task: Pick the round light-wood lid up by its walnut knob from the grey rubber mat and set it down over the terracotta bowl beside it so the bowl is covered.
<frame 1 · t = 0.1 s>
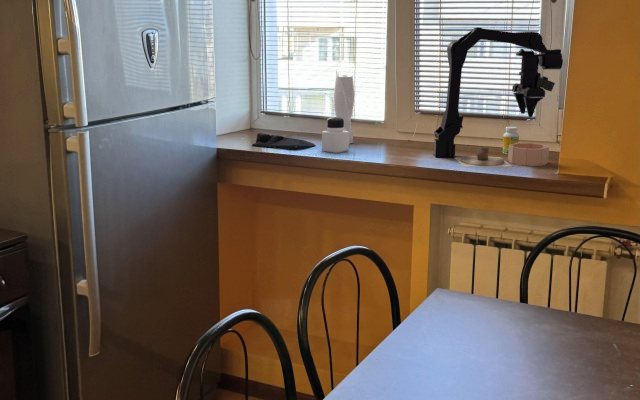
hand: (526, 115, 263), 15 cm above the table, fingers open, 9 cm apart
supplement bottle: (509, 154, 272), on the table
mat: (482, 163, 255), on the table
bowl: (527, 163, 254), on the table
medicine bottle: (335, 151, 278), on the table
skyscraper: (343, 143, 294), on the table
lid: (482, 161, 255), resting on mat
crumpled black cloth: (283, 147, 288), on the table
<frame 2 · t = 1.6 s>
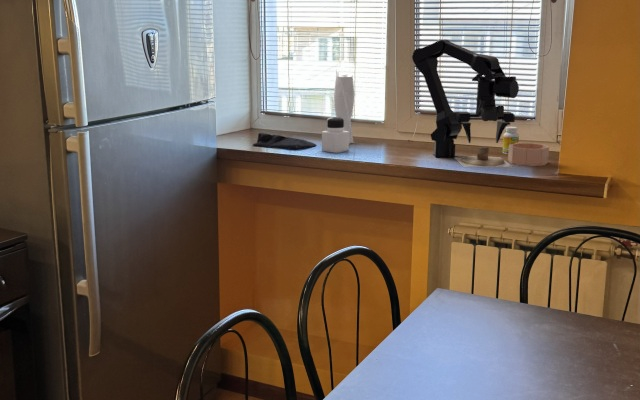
hand: (483, 142, 253), 7 cm above the table, fingers open, 9 cm apart
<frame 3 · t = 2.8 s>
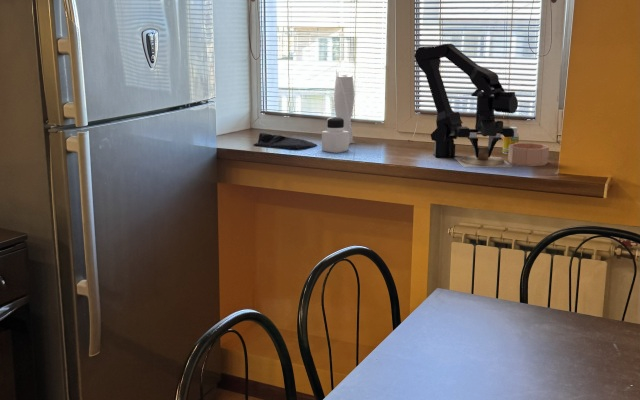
hand: (482, 157, 254), 2 cm above the table, fingers closed on lid, 4 cm apart
lid: (482, 161, 255), point 1 cm above the table, touching gripper, mat
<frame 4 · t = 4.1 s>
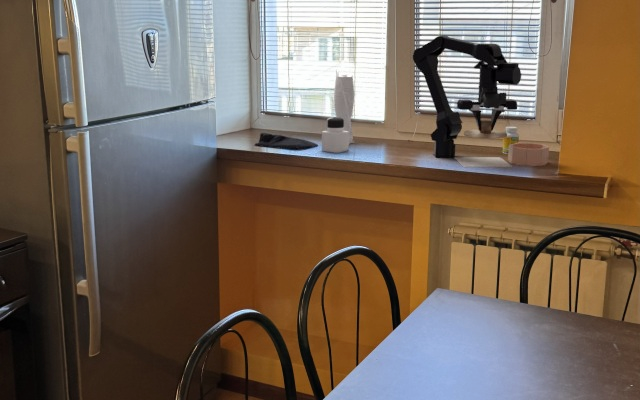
hand: (485, 130, 252), 11 cm above the table, fingers closed on lid, 4 cm apart
lid: (485, 135, 253), point 10 cm above the table, touching gripper
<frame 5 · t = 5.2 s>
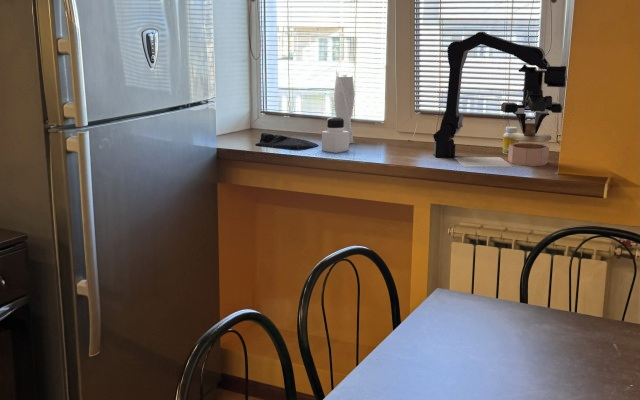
hand: (529, 133, 252), 10 cm above the table, fingers closed on lid, 4 cm apart
lid: (529, 138, 252), point 9 cm above the table, touching gripper
when the fingers open (8 cm above the table, at t = 5.7 s): lid drops 1 cm, resting on bowl.
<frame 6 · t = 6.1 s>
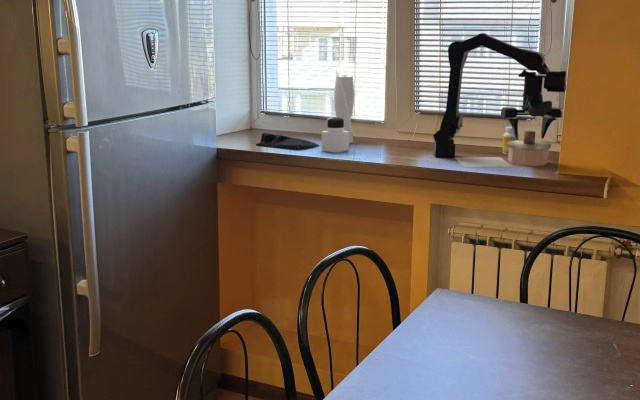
hand: (529, 138, 252), 8 cm above the table, fingers open, 8 cm apart
lid: (528, 146, 253), point 6 cm above the table, touching bowl
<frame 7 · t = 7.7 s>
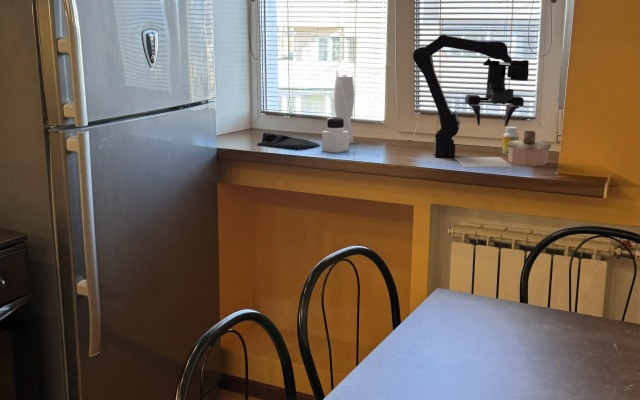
hand: (492, 125, 259), 12 cm above the table, fingers open, 9 cm apart
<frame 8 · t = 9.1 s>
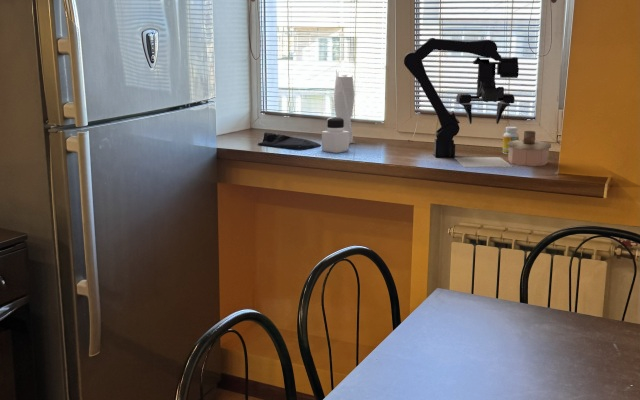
hand: (483, 123, 261), 12 cm above the table, fingers open, 9 cm apart
at the end: lid 0.1 cm off-centre on the bowl, point 6.0 cm above the bowl's base; lid tilted 0°; the gripper is holding nothing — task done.
